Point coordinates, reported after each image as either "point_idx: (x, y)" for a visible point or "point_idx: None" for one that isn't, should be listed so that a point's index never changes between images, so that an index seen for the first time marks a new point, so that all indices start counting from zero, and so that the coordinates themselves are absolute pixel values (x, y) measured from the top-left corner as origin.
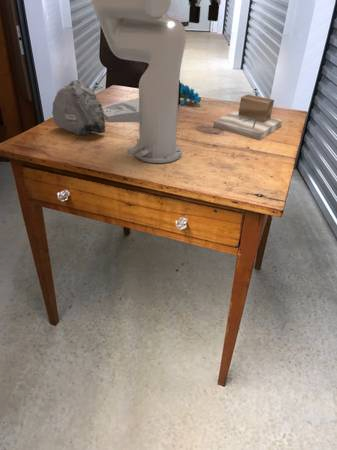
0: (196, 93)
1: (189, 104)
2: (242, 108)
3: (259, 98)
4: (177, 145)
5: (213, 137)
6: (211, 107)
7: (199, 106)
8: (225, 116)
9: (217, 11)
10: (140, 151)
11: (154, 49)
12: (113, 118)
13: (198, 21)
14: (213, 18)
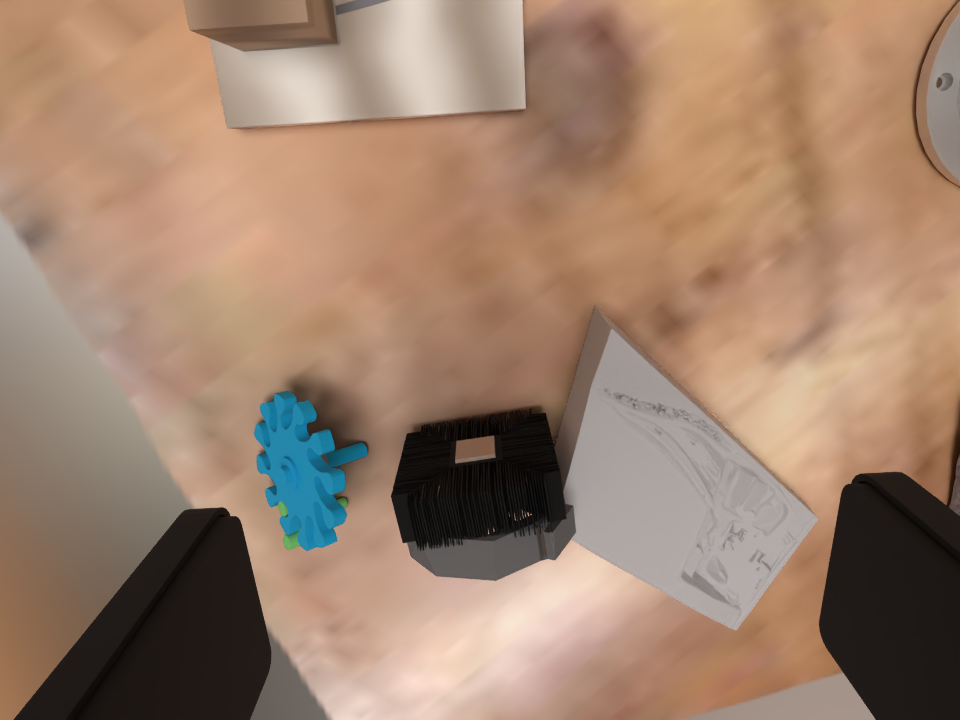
0: (308, 414)
1: None
2: (324, 8)
3: None
4: (948, 34)
5: (661, 3)
6: (254, 323)
7: (297, 378)
8: (406, 104)
9: (134, 634)
10: None
11: None
12: (799, 499)
13: (908, 480)
14: (234, 589)
